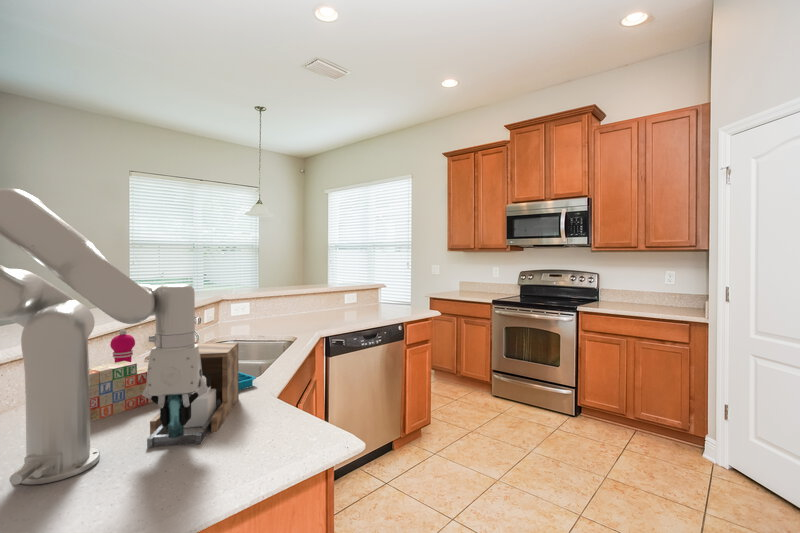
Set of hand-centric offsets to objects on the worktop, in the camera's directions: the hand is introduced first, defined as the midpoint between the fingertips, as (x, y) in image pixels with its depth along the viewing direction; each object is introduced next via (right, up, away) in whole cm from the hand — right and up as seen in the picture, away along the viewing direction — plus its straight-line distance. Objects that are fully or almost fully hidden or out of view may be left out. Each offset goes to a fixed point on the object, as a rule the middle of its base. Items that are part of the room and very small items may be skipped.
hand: (176, 422), depth 88 cm
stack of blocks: (-26, -5, +22) cm, 35 cm away
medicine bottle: (-1, -5, +12) cm, 13 cm away
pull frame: (-1, -5, +8) cm, 9 cm away
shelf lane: (-3, -4, +16) cm, 17 cm away
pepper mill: (-32, -4, +30) cm, 44 cm away
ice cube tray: (-8, -4, +42) cm, 43 cm away
